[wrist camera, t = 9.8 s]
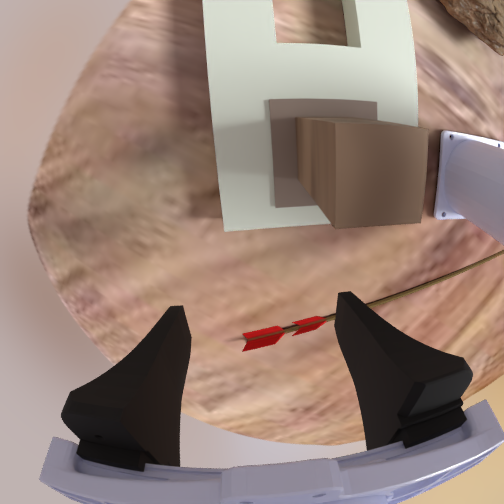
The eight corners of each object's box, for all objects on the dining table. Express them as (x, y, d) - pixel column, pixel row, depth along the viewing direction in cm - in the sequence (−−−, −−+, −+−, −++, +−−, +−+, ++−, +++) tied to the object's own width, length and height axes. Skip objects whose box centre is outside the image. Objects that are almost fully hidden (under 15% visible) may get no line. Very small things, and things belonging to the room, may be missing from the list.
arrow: (508, 235, 25) (511, 250, 25) (239, 326, 29) (245, 345, 29) (519, 234, 23) (522, 250, 23) (236, 332, 26) (242, 351, 26)
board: (386, -20, 13) (401, -31, 10) (396, 208, 22) (413, 220, 19) (204, -30, 13) (199, -46, 10) (226, 218, 22) (224, 233, 19)
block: (356, 117, 16) (428, 129, 9) (356, 177, 18) (420, 223, 11) (294, 117, 16) (335, 122, 9) (297, 179, 18) (335, 228, 11)
